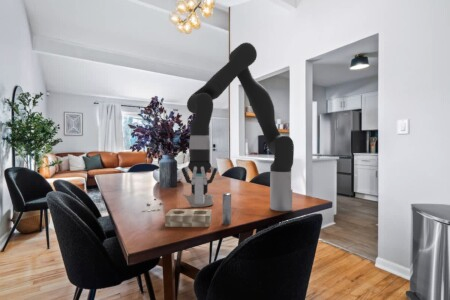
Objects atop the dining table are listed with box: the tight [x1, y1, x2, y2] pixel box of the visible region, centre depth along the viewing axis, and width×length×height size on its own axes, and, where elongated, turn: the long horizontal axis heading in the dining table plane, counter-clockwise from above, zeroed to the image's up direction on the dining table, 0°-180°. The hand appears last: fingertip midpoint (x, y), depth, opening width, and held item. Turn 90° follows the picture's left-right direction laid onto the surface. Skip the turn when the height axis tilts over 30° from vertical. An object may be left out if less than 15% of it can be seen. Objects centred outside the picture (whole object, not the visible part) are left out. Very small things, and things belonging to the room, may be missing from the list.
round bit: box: [222, 192, 232, 226], centre depth 88 cm, size 3×3×11 cm
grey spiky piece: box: [183, 192, 215, 208], centre depth 116 cm, size 13×11×10 cm
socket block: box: [164, 208, 213, 228], centre depth 89 cm, size 16×8×4 cm, turn 88°
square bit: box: [195, 174, 204, 204], centre depth 88 cm, size 3×3×11 cm
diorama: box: [146, 198, 164, 212], centre depth 115 cm, size 9×27×4 cm, turn 16°
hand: (199, 194), depth 88 cm, fingers closed on square bit, 3 cm apart
